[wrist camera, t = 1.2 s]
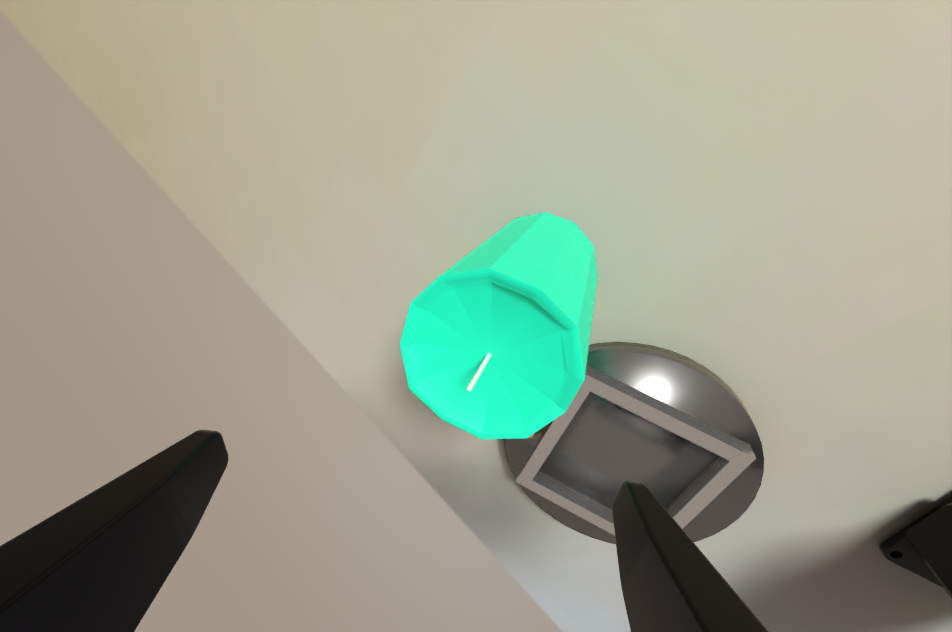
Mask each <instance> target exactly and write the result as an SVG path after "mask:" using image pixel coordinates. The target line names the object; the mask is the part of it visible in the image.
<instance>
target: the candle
mask: <svg viewBox="0 0 952 632" xmlns="http://www.w3.org/2000/svg"><path fill="white" fill-rule="evenodd" d="M597 276H598V275H597V267H596V259H595V252H594V246H593V245H592V243H591V242H590V241H589V240H588V238H587V237H586V236H585V235H584V234H583V232H582V231H581V230H580V229H579V227H578V226H577V225H576V224H575V223H574V222H572V221H569V220H566V219H563V218H560V217H558V216H555V215H552V214H549V213H546V212H544V213H539V214H534V215H529V216H524V217H519V218H516V219H514V220H513V221H512V222H510V223H509V224H508V225H506V226H505V227H504V228H502V229H501V230H500V231H498V232H497V233H496V234H494V235H493V236H492V237H490V238H489V239H488V240H486V241H485V242H484V243H482V244H481V245H480V246H479V247H477V248H476V249H475V250H473V251H472V252H471V253H469V254H468V255H467V256H465V257H464V258H463V259H461V260H460V261H459V262H457V263H456V264H455V265H453V266H452V267H451V268H449V269H448V270H447V271H445V272H444V273H443V274H441V275H440V276H439V277H438V278H437V279H436V280H435V281H434V282H433V283H432V284H431V285H429V286H428V287H427V288H426V289H425V290H424V291H423V292H422V293H421V294H420V295H419V296H418V297H416V298H415V299H414V300H413V301H412V302H411V304H410V307H409V311H408V315H407V319H406V323H405V326H404V330H403V334H402V338H401V341H400V349H401V353H402V358H403V363H404V367H405V372H406V377H407V382H408V386H409V389H410V390H411V391H412V392H413V393H414V394H415V395H416V396H417V397H418V398H419V399H420V400H421V401H423V402H424V403H425V404H426V405H427V406H428V407H429V408H430V409H431V410H432V411H433V412H434V413H435V414H436V415H438V416H439V417H440V418H441V419H442V420H444V421H446V422H448V423H450V424H452V425H454V426H456V427H458V428H460V429H462V430H464V431H466V432H468V433H470V434H472V435H474V436H476V437H478V438H480V439H525V438H528V437H530V436H531V435H533V434H534V433H536V432H537V431H538V430H540V429H541V428H543V427H544V426H546V425H547V424H549V423H550V422H552V421H553V420H555V419H556V418H558V417H559V416H561V415H562V414H564V413H565V412H566V411H567V409H568V407H569V406H570V404H571V402H572V401H573V399H574V397H575V395H576V394H577V392H578V390H579V389H580V387H581V385H582V383H583V382H584V380H585V373H586V365H587V357H588V348H589V340H590V332H591V324H592V316H593V308H594V300H595V292H596V284H597Z"/></svg>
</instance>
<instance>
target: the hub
mask: <svg viewBox="0 0 952 632" xmlns="http://www.w3.org/2000/svg"><path fill="white" fill-rule="evenodd" d="M504 443H505V451H506V455H507V459H508V462H509V465H510V467H511V470H512V472H513V474H514V476H515V477H516V482H517V483H519V484H520V486H521V487H522V488H523V490H524V491H525V492H526V494H527V495H528V496H529V497H530V498H531V499H532V500H533V501H534V502H535V503H536V504H537V505H538V506H539V507H540V508H541V509H542V510H544V511H545V512H546V513H547V514H549V515H550V516H552V517H553V518H554V519H556V520H557V521H559V522H561V523H562V524H564V525H566V526H567V527H569V528H571V529H573V530H575V531H577V532H579V533H582V534H584V535H587V536H589V537H592V538H595V539H598V540H601V541H605V542H608V543H613V544H616V538H615V530H614V522H613V513H612V509H613V503H614V500H615V498H616V496H617V494H618V492H619V490H620V488H621V485H622V484H623V483H624V482H625V481H632V482H640V483H643V484H644V485H645V486H646V487H647V488H648V489H649V490H650V491H651V492H652V494H653V495H654V496H655V497H656V498H657V500H658V501H659V502H660V503H661V504H662V506H663V507H664V508H665V509H666V510H667V512H668V513H669V514H670V515H671V516H672V517H673V519H674V520H675V521H676V522H677V523H678V525H679V526H680V527H681V528H682V529H683V531H684V532H685V533H686V534H687V535H688V537H689V538H690V539H691V540H692V541H693V542H696V541H699V540H702V539H704V538H707V537H709V536H712V535H714V534H716V533H718V532H719V531H721V530H723V529H725V528H726V527H728V526H729V525H730V524H732V523H733V522H734V521H736V520H737V519H738V518H739V517H740V516H741V515H742V514H743V513H744V512H745V511H746V510H747V509H748V507H749V506H750V504H751V503H752V501H753V500H754V499H755V496H756V494H757V492H758V490H759V488H760V485H761V481H762V476H763V469H764V456H763V450H762V444H761V441H760V438H759V436H758V433H757V430H756V428H755V426H754V424H753V422H752V420H751V418H750V416H749V414H748V412H747V411H746V409H745V407H744V405H743V404H742V402H741V400H740V399H739V398H738V397H737V395H736V394H735V393H734V392H733V390H732V389H731V388H730V387H729V386H728V385H727V384H726V383H725V382H724V381H722V380H721V379H720V378H719V377H718V376H717V375H715V374H714V373H713V372H711V371H710V370H708V369H707V368H706V367H704V366H702V365H700V364H699V363H697V362H695V361H693V360H691V359H689V358H687V357H685V356H683V355H680V354H678V353H675V352H673V351H670V350H666V349H662V348H659V347H655V346H651V345H644V344H638V343H626V342H610V343H597V344H592V345H589V348H588V357H587V365H586V373H585V380H584V382H583V383H582V385H581V387H580V389H579V390H578V392H577V394H576V395H575V397H574V399H573V401H572V402H571V404H570V406H569V407H568V409H567V411H566V412H565V413H564V414H562V415H561V416H559V417H558V418H556V419H555V420H553V421H552V422H550V423H549V424H547V425H546V426H544V427H543V428H541V429H540V430H538V431H537V432H536V433H534V434H533V435H531V436H530V437H528V438H525V439H504Z"/></svg>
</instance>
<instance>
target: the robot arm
mask: <svg viewBox="0 0 952 632" xmlns="http://www.w3.org/2000/svg"><path fill="white" fill-rule="evenodd" d="M227 463H228V453H227V450H226V447H225V444H224V441H223V437H222V435H221V434H220V433H219V432H217V431H210V430H199V431H196V432H194V433H192V434H191V435H189V436H187V437H186V438H184V439H182V440H181V441H179V442H177V443H175V444H174V445H172V446H170V447H169V448H167V449H165V450H163V451H162V452H160V453H158V454H157V455H155V456H153V457H152V458H150V459H148V460H146V461H145V462H143V463H141V464H139V465H138V466H136V467H135V468H133V469H131V470H130V471H128V472H126V473H124V474H123V475H121V476H119V477H117V478H116V479H114V480H112V481H110V482H109V483H107V484H106V485H104V486H102V487H100V488H99V489H97V490H95V491H94V492H92V493H90V494H88V495H87V496H85V497H84V498H81V499H80V500H78V501H76V502H75V503H73V504H71V505H70V506H68V507H66V508H64V509H63V510H61V511H59V512H58V513H56V514H54V515H53V516H51V517H49V518H47V519H46V520H44V521H42V522H41V523H39V524H37V525H35V526H34V527H32V528H31V529H29V530H27V531H25V532H23V533H22V534H20V535H18V536H17V537H15V538H13V539H12V540H10V541H8V542H6V543H5V544H3V545H2V546H0V632H134V631H135V629H136V627H137V626H138V624H139V623H140V621H141V619H142V618H143V616H144V615H145V613H146V611H147V610H148V608H149V606H150V605H151V603H152V601H153V600H154V598H155V597H156V595H157V593H158V592H159V590H160V588H161V587H162V585H163V583H164V582H165V580H166V578H167V577H168V575H169V573H170V572H171V570H172V568H173V567H174V565H175V564H176V562H177V561H178V559H179V557H180V556H181V554H182V552H183V551H184V549H185V547H186V546H187V544H188V542H189V541H190V539H191V537H192V535H193V533H194V532H195V530H196V528H197V526H198V524H199V522H200V520H201V518H202V516H203V514H204V511H205V510H206V508H207V506H208V503H209V502H210V499H211V497H212V495H213V493H214V491H215V489H216V487H217V485H218V483H219V481H220V478H221V477H222V475H223V473H224V471H225V469H226V466H227ZM612 513H613V522H614V530H615V538H616V547H617V555H618V563H619V572H620V579H621V586H622V591H623V596H624V601H625V606H626V610H627V615H628V619H629V624H630V628H631V632H768V631H767V630H766V628H765V627H764V626H763V625H762V624H761V622H760V621H759V620H758V619H757V618H756V616H755V615H754V614H753V613H752V612H751V610H750V609H749V608H748V607H747V606H746V605H745V603H744V602H743V601H742V600H741V599H740V597H739V596H738V595H737V594H736V593H735V591H734V590H733V589H732V588H731V587H730V585H729V584H728V583H727V582H726V581H725V579H724V578H723V577H722V576H721V575H720V574H719V572H718V571H717V570H716V569H715V568H714V566H713V565H712V564H711V563H710V562H709V560H708V559H707V558H706V557H705V556H704V554H703V553H702V552H701V551H700V550H699V548H698V547H697V546H696V545H695V544H694V543H693V541H692V540H691V539H690V538H689V537H688V535H687V534H686V533H685V532H684V531H683V529H682V528H681V527H680V526H679V525H678V523H677V522H676V521H675V520H674V519H673V517H672V516H671V515H670V514H669V513H668V512H667V510H666V509H665V508H664V507H663V506H662V504H661V503H660V502H659V501H658V500H657V498H656V497H655V496H654V495H653V494H652V492H651V491H650V490H649V489H648V488H647V487H646V486H645V485H644V484H643V483H640V482H632V481H625V482H624V483H623V484H622V485H621V488H620V490H619V492H618V494H617V496H616V498H615V500H614V503H613V509H612ZM879 548H880V550H881V552H882V553H883V555H884V556H885V558H887V559H888V560H890V561H892V562H894V563H896V564H898V565H900V566H902V567H904V568H906V569H908V570H910V571H912V572H914V573H916V574H918V575H920V576H922V577H924V578H926V579H928V580H930V581H932V582H934V583H936V584H938V585H939V586H941V587H943V588H944V589H945V590H946V591H947V593H948V594H949V595H950V597H951V598H952V498H950V499H949V500H947V501H945V502H944V503H942V504H941V505H939V506H938V507H936V508H935V509H933V510H932V511H930V512H929V513H927V514H926V515H924V516H923V517H921V518H920V519H918V520H917V521H915V522H913V523H912V524H910V525H909V526H907V527H906V528H904V529H903V530H901V531H900V532H898V533H897V534H895V535H894V536H892V537H891V538H889V539H888V540H886V541H884V542H883V543H882V544H881V545H880V547H879Z"/></svg>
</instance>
